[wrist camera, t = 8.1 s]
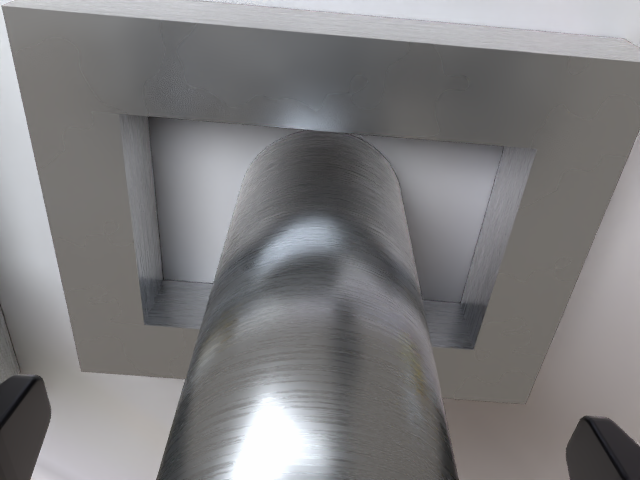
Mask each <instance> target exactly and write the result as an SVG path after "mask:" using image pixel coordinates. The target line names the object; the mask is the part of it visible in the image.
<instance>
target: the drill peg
mask: <svg viewBox="0 0 640 480" xmlns="http://www.w3.org/2000/svg"><path fill="white" fill-rule="evenodd" d="M156 480H459V479H458V474H457V469H456V464H455V459H454V454H453V449H452V444H451V439H450V434H449V429H448V424H447V419H446V414H445V409H444V404H443V399H442V394H441V389H440V384H439V379H438V374H437V369H436V364H435V359H434V354H433V349H432V344H431V339H430V334H429V329H428V324H427V319H426V314H425V309H424V305H423V300H422V295H421V290H420V285H419V280H418V275H417V270H416V265H415V260H414V255H413V250H412V245H411V240H410V235H409V230H408V225H407V220H406V215H405V210H404V205H403V200H402V195H401V190H400V185H399V182H398V179H397V176H396V174H395V172H394V170H393V168H392V167H391V165H390V164H389V162H388V161H387V160H386V158H385V157H384V156H383V155H382V154H381V153H380V152H379V151H378V150H376V149H375V148H374V147H372V146H371V145H370V144H368V143H366V142H365V141H363V140H361V139H359V138H357V137H354V136H352V135H349V134H346V133H341V132H329V131H317V130H309V131H302V132H298V133H294V134H291V135H288V136H285V137H283V138H281V139H279V140H277V141H275V142H273V143H272V144H271V145H269V146H268V147H266V148H265V149H264V150H263V151H262V152H261V153H260V154H259V155H258V156H257V157H256V158H255V159H254V161H253V162H252V163H251V165H250V166H249V168H248V170H247V172H246V174H245V176H244V179H243V182H242V185H241V189H240V192H239V196H238V199H237V203H236V206H235V209H234V213H233V216H232V220H231V223H230V227H229V230H228V234H227V237H226V241H225V244H224V247H223V251H222V254H221V258H220V261H219V265H218V268H217V272H216V275H215V279H214V282H213V286H212V289H211V292H210V296H209V299H208V303H207V306H206V310H205V313H204V317H203V320H202V324H201V327H200V330H199V334H198V337H197V341H196V344H195V348H194V351H193V355H192V358H191V362H190V365H189V368H188V372H187V375H186V379H185V382H184V386H183V389H182V393H181V396H180V400H179V403H178V407H177V410H176V413H175V417H174V420H173V424H172V427H171V431H170V434H169V438H168V441H167V445H166V448H165V451H164V455H163V458H162V462H161V465H160V469H159V472H158V476H157V479H156Z"/></svg>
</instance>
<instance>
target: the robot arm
mask: <svg viewBox="0 0 640 480" xmlns="http://www.w3.org/2000/svg"><path fill="white" fill-rule="evenodd" d="M50 418H51V406H50V403H49V399H48V395H47V392H46V388H45V385H44V381H43V379H42V378H41V377H40V376H38V375H28V374H15V375H13V376H11V377H9V378H8V379H6V380H5V381H4V382H2V383H1V384H0V480H30V479H31V476H32V473H33V470H34V467H35V464H36V461H37V458H38V455H39V452H40V449H41V447H42V444H43V441H44V438H45V435H46V432H47V429H48V426H49V423H50ZM566 461H567V466H568V471H569V476H570V480H640V446H639V445H638V444H637V443H636V442H635V441H634V440H633V439H632V438H630V437H629V436H628V435H627V434H626V433H625V432H624V431H623V430H622V429H621V428H620V427H619V426H618V425H617V424H616V423H615V422H613V421H612V420H611V419H609V418H606V417H597V416H584V417H583V418H581V419H580V421H579V423H578V425H577V427H576V429H575V431H574V433H573V435H572V437H571V439H570V441H569V442H568V445H567V448H566Z"/></svg>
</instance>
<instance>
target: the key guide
mask: <svg viewBox="0 0 640 480" xmlns="http://www.w3.org/2000/svg"><path fill="white" fill-rule="evenodd" d="M15 374H20V370H19V366H18V363H17V360H16V356H15V353H14V350H13V347H12V343H11V340H10V337H9V333H8V330H7V327H6V323H5V320H4V317H3V314H2V310H1V307H0V384H1V383H2V382H4V381H5V380H6V379H8V378H9V377H11V376H13V375H15Z"/></svg>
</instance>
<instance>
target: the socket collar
mask: <svg viewBox="0 0 640 480" xmlns="http://www.w3.org/2000/svg"><path fill="white" fill-rule="evenodd" d="M2 10H3V15H4V19H5V24H6V28H7V33H8V38H9V42H10V47H11V51H12V56H13V60H14V65H15V70H16V74H17V79H18V83H19V88H20V93H21V97H22V102H23V106H24V111H25V115H26V120H27V125H28V129H29V134H30V138H31V143H32V148H33V152H34V157H35V161H36V166H37V171H38V175H39V180H40V184H41V189H42V193H43V198H44V203H45V207H46V212H47V216H48V221H49V226H50V230H51V235H52V239H53V244H54V248H55V253H56V258H57V262H58V267H59V271H60V276H61V281H62V285H63V290H64V294H65V299H66V303H67V308H68V313H69V317H70V322H71V326H72V331H73V336H74V340H75V345H76V349H77V354H78V359H79V363H80V368H81V371H82V372H96V373H109V374H123V375H136V376H150V377H163V378H177V379H186V375H187V372H188V368H189V365H190V362H191V358H192V355H193V351H194V348H195V344H196V341H197V337H198V334H199V330H200V327H201V324H202V320H203V317H204V313H205V310H206V306H207V303H208V299H209V296H210V292H211V289H212V286H213V284H209V283H196V282H183V281H171V280H163V272H162V262H161V251H160V240H159V229H158V218H157V208H156V197H155V186H154V175H153V165H152V154H151V143H150V132H149V122H148V116H151V117H163V118H174V119H186V120H198V121H210V122H222V123H234V124H246V125H258V126H269V127H281V128H293V129H305V130H317V131H329V132H341V133H353V134H364V135H376V136H388V137H400V138H412V139H424V140H436V141H448V142H459V143H471V144H483V145H495V146H504V149H503V153H502V156H501V160H500V163H499V167H498V171H497V174H496V178H495V181H494V185H493V188H492V192H491V196H490V199H489V203H488V206H487V210H486V213H485V217H484V221H483V224H482V228H481V231H480V235H479V238H478V242H477V246H476V249H475V253H474V256H473V260H472V263H471V267H470V271H469V274H468V278H467V281H466V285H465V288H464V292H463V295H462V299H461V303H454V302H441V301H428V300H423V305H424V309H425V314H426V319H427V324H428V329H429V334H430V339H431V344H432V349H433V354H434V359H435V364H436V369H437V374H438V379H439V384H440V389H441V394H442V398H448V399H462V400H476V401H489V402H503V403H516V404H526V401H527V399H528V397H529V394H530V392H531V389H532V387H533V385H534V382H535V380H536V377H537V375H538V373H539V370H540V368H541V365H542V363H543V361H544V358H545V356H546V353H547V351H548V348H549V346H550V344H551V341H552V339H553V336H554V334H555V332H556V329H557V327H558V324H559V322H560V320H561V317H562V315H563V312H564V310H565V308H566V305H567V303H568V300H569V298H570V296H571V293H572V291H573V288H574V286H575V284H576V281H577V279H578V276H579V274H580V272H581V269H582V267H583V264H584V262H585V259H586V257H587V255H588V252H589V250H590V247H591V245H592V243H593V240H594V238H595V235H596V233H597V231H598V228H599V226H600V223H601V221H602V219H603V216H604V214H605V211H606V209H607V207H608V204H609V202H610V199H611V197H612V195H613V192H614V190H615V187H616V185H617V182H618V180H619V178H620V175H621V173H622V170H623V168H624V166H625V163H626V161H627V158H628V156H629V154H630V151H631V149H632V146H633V144H634V142H635V139H636V137H637V134H638V132H639V130H640V48H639V47H637V46H635V45H634V44H632V43H631V42H629V41H627V40H626V39H624V38H613V37H602V36H591V35H579V34H568V33H557V32H546V31H534V30H523V29H512V28H501V27H490V26H478V25H467V24H456V23H445V22H433V21H422V20H411V19H400V18H389V17H377V16H366V15H355V14H344V13H332V12H321V11H310V10H299V9H287V8H276V7H265V6H254V5H243V4H231V3H220V2H209V1H198V0H14V1H12V2H9V3H7V4H4V5H2Z"/></svg>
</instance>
